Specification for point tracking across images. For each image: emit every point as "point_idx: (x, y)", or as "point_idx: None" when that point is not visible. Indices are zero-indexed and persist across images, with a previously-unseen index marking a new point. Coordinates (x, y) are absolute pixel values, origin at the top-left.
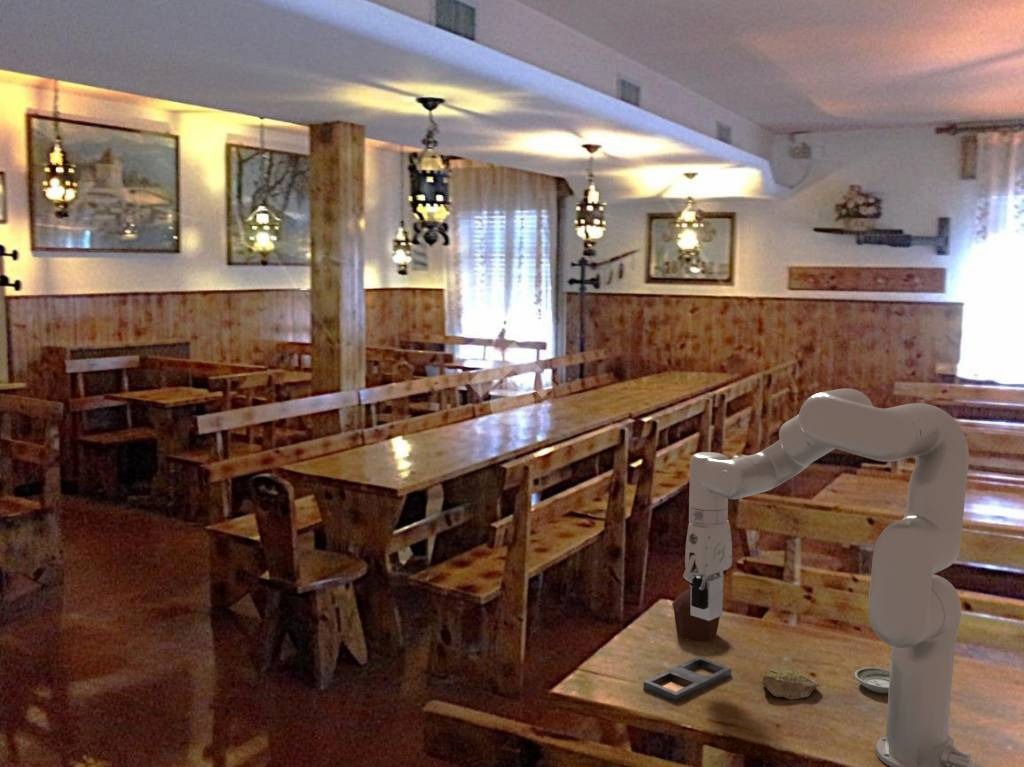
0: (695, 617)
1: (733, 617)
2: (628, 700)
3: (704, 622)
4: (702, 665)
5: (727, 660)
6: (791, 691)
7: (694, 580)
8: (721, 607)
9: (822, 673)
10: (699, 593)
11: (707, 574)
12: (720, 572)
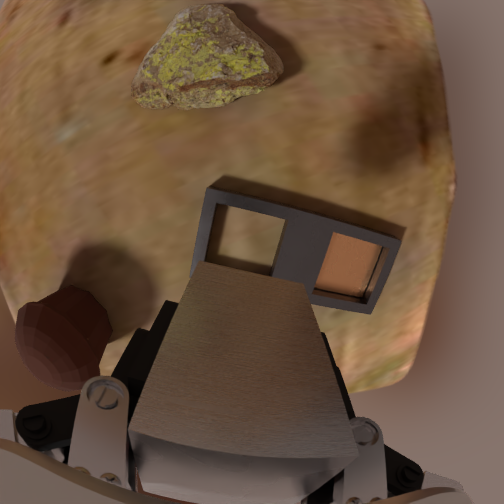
0: (88, 340)
1: (6, 286)
2: (410, 304)
3: (78, 318)
4: (205, 258)
5: (139, 225)
6: (252, 34)
7: (421, 477)
8: (201, 280)
9: (98, 49)
10: (351, 410)
11: (450, 496)
12: (109, 463)
